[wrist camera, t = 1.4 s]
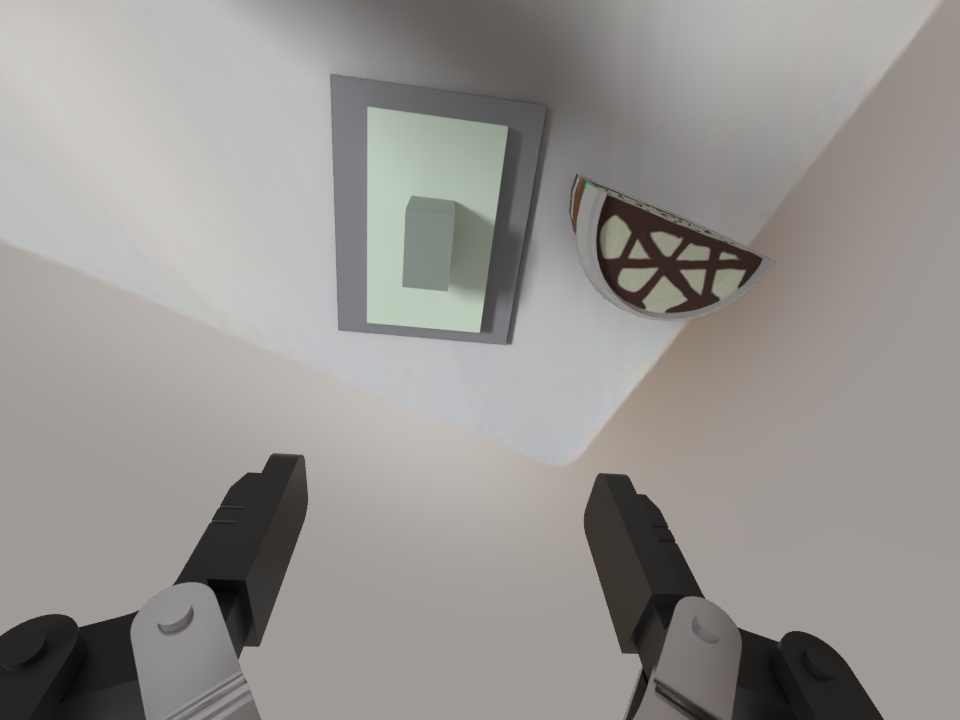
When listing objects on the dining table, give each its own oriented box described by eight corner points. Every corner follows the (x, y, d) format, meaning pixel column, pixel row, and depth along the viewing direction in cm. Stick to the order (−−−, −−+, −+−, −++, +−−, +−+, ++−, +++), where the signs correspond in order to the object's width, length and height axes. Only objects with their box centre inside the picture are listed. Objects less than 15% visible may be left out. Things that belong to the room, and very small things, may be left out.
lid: (369, 316, 37) (356, 349, 32) (370, 106, 29) (353, 107, 24) (479, 326, 38) (482, 360, 33) (506, 125, 30) (516, 130, 25)
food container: (525, 246, 35) (548, 293, 26) (558, 166, 32) (597, 189, 24) (659, 294, 38) (721, 352, 29) (701, 224, 35) (783, 264, 26)
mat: (340, 327, 38) (338, 330, 37) (332, 74, 29) (330, 73, 28) (504, 341, 39) (505, 344, 39) (545, 105, 30) (546, 105, 30)
